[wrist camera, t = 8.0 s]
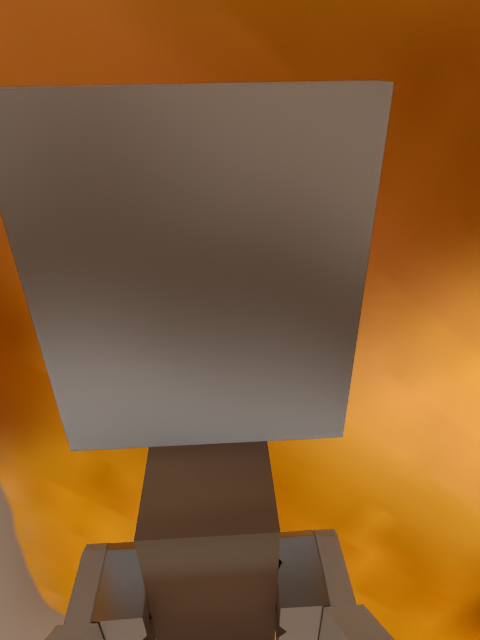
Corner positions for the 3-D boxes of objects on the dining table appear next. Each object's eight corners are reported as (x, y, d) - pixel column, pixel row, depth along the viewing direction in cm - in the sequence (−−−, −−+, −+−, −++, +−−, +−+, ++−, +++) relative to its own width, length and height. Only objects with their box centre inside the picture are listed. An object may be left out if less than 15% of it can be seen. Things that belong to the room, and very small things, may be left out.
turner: (306, 624, 16) (325, 735, 13) (137, 636, 15) (121, 752, 13) (376, 79, 7) (473, 91, 4) (-11, 86, 7) (-149, 102, 4)
